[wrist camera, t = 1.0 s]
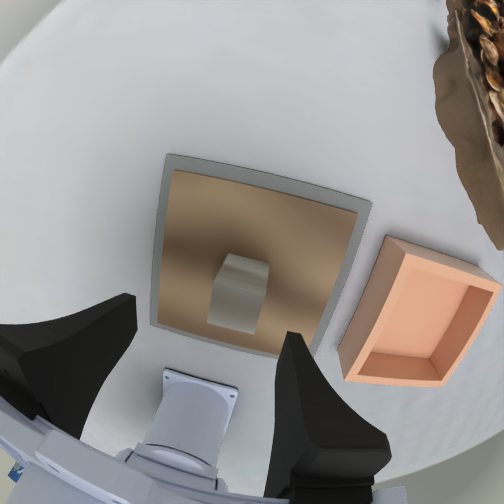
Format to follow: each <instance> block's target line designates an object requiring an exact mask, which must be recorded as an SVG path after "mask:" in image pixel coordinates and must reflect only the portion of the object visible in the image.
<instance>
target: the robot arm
mask: <svg viewBox="0 0 504 504" xmlns="http://www.w3.org/2000/svg"><path fill="white" fill-rule="evenodd" d="M137 330H138V328H137V314H136V296H134V295H131V294H127V293H123V294H120V295H118V296H115V297H113V298H111V299H108V300H106V301H104V302H102V303H99V304H97V305H95V306H92V307H90V308H87V309H85V310H82V311H80V312H77V313H75V314H72V315H69V316H65V317H62V318H58V319H54V320H49V321H44V322H39V323H31V324H16V325H14V324H0V447H1V448H2V449H3V450H4V451H5V452H6V453H8V454H9V455H10V456H11V457H12V458H13V459H15V460H16V461H17V462H18V463H19V464H20V465H21V466H23V467H24V468H25V470H24V471H23V473H22V475H21V476H20V478H19V480H18V481H17V483H16V485H15V486H14V488H13V490H12V491H11V493H10V495H9V497H8V499H7V500H6V502H5V504H408V502H407V496H406V491H405V487H404V486H398V487H392V488H385V489H380V490H376V491H374V492H372V489H371V486H372V485H374V475H375V474H376V473H378V472H379V471H380V470H381V469H382V468H384V467H385V466H386V465H387V464H388V462H389V461H390V460H391V457H392V455H391V450H390V445H389V441H388V439H387V436H386V434H385V433H383V432H382V431H380V430H379V429H377V428H376V427H374V426H373V425H371V424H370V423H368V422H367V421H366V420H364V419H363V418H362V417H361V416H359V415H358V414H357V413H356V412H355V411H354V410H353V409H351V408H350V407H349V406H348V405H347V404H346V403H345V402H344V401H343V400H342V398H341V397H340V396H339V395H338V394H337V393H336V392H335V390H334V389H333V388H332V387H331V385H330V384H329V383H328V381H327V380H326V378H325V377H324V375H323V374H322V372H321V371H320V369H319V367H318V366H317V364H316V362H315V360H314V359H313V357H312V355H311V353H310V351H309V349H308V347H307V345H306V343H305V341H304V339H303V336H302V335H301V333H296V332H291V331H287V333H286V337H285V340H284V343H283V346H282V350H281V353H280V356H279V359H278V362H277V368H276V376H275V427H274V436H273V444H272V451H271V458H270V464H269V470H268V476H267V481H266V486H265V491H264V496H263V497H256V496H248V495H241V494H235V493H229V492H228V486H227V485H226V483H225V482H224V480H223V479H221V478H217V474H218V469H217V468H216V464H217V460H218V456H219V451H220V447H221V443H222V439H223V434H225V433H226V430H227V427H228V424H229V421H230V418H231V415H232V412H233V408H234V405H235V402H236V399H237V396H238V390H237V389H235V388H232V387H228V386H224V385H220V384H216V383H212V382H208V381H205V380H201V379H198V378H194V377H191V376H187V375H184V374H181V373H178V372H175V371H172V370H168V369H165V370H164V372H163V399H162V402H161V404H160V406H159V408H158V410H157V412H156V415H155V417H154V419H153V421H152V423H151V425H150V428H149V430H148V432H147V434H146V436H145V439H144V441H143V443H139V442H138V443H137V446H136V448H135V450H133V449H131V448H127V449H125V450H122V451H120V452H119V453H118V454H117V455H116V456H115V458H114V457H112V456H110V455H108V454H105V453H103V452H101V451H99V450H97V449H95V448H93V447H91V446H89V445H87V444H85V443H83V442H81V441H80V437H81V434H82V431H83V428H84V425H85V422H86V420H87V417H88V414H89V412H90V409H91V407H92V405H93V403H94V401H95V399H96V396H97V394H98V392H99V390H100V389H101V387H102V385H103V383H104V381H105V379H106V378H107V376H108V375H109V373H110V372H111V371H112V369H113V368H114V366H115V365H116V364H117V362H118V361H119V359H120V358H121V357H122V355H123V354H124V352H125V351H126V350H127V348H128V347H129V345H130V343H131V342H132V340H133V338H134V336H135V334H136V332H137ZM167 376H168V377H167Z"/></svg>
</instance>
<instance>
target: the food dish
mask: <svg viewBox="0 0 504 504" xmlns="http://www.w3.org/2000/svg"><path fill="white" fill-rule="evenodd" d="M446 6H447V9H448V11H449V15H448V16H447V18H448V19H447V22H448V25H449V26H448V27H447V28H448V29H447V31H448V35H449V38H450V42H451V45H450V47H449V49H448V52H447V53H445V54H443V55H440V57H439V58H438V59H437V61H436V62H435V64H434V68H433V79H434V84H435V94H436V101H435V110H436V115H437V119H438V122H439V124H440V126H441V128H442V130H443V131H444V133H445V135H446V137H447V139H448V140H449V141H450V142H451V144H452V145H453V146H454V148H455V155H456V168H457V172H458V175H459V178H460V180H461V182H462V184H463V186H464V188H465V190H466V192H467V194H468V196H469V199H470V200H471V202H472V204H473V206H474V208H475V211H476V215H477V221H478V223H479V224H481V225H483V227H484V229H485V231H486V233H487V234H488V236H489V238H490V239H491V241H492V242H493V243H494V245H495V246H496V248H497V249H498V250H504V0H446Z"/></svg>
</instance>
